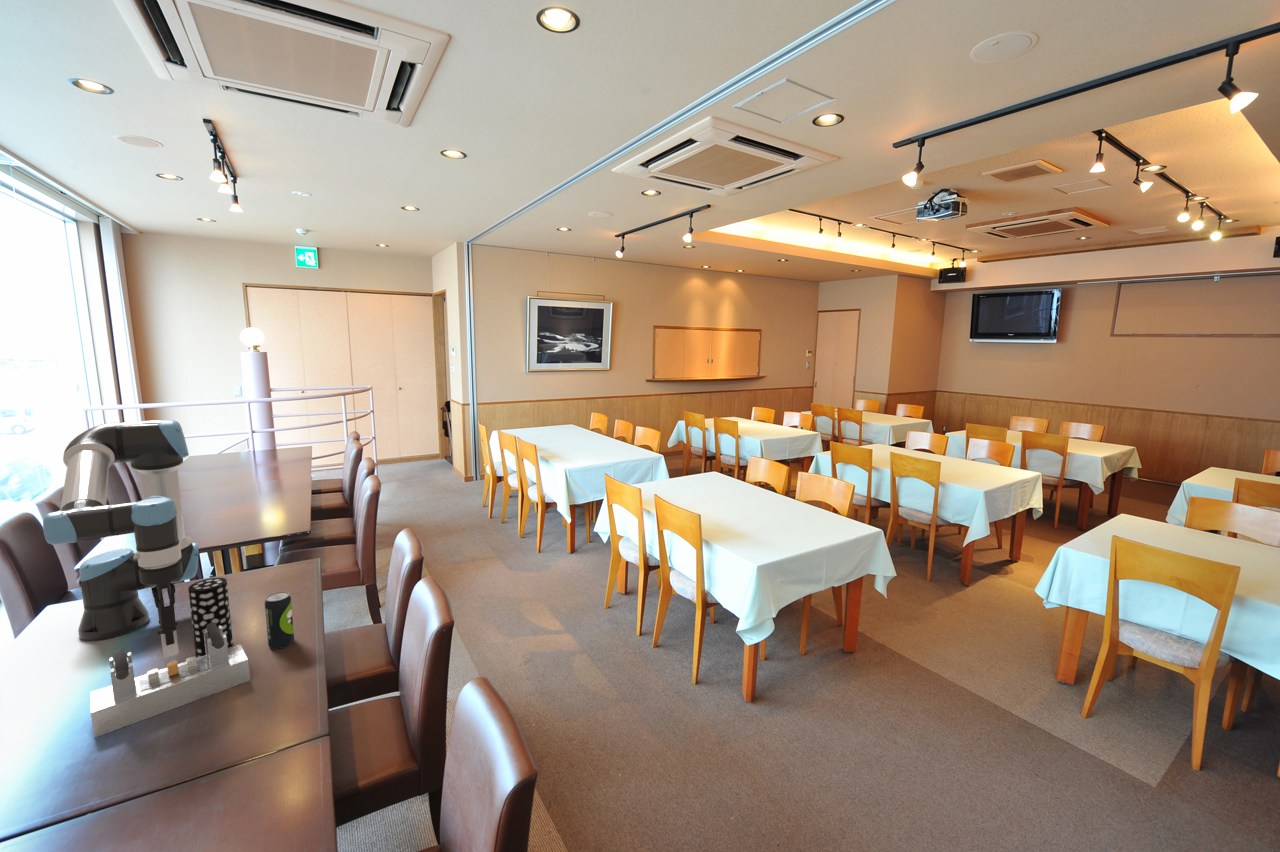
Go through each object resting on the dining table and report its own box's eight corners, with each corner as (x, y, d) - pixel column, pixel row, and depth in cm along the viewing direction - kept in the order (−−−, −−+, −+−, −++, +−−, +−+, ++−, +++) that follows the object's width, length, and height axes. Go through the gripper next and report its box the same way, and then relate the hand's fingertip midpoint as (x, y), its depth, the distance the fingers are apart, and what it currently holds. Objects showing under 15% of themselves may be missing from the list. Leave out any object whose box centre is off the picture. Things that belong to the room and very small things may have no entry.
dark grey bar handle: (114, 658, 122) (113, 650, 122) (126, 654, 124) (125, 647, 124) (116, 682, 114) (115, 674, 113) (129, 678, 115) (128, 670, 115)
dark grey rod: (206, 631, 135) (205, 624, 134) (216, 628, 136) (215, 621, 136) (215, 651, 126) (214, 643, 126) (225, 648, 127) (224, 640, 127)
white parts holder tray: (93, 715, 120) (86, 662, 118) (242, 664, 140) (237, 618, 139) (94, 737, 113) (86, 682, 111) (250, 680, 134) (245, 632, 132)
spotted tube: (211, 660, 142) (204, 592, 139) (187, 656, 144) (180, 588, 141) (240, 643, 150) (234, 579, 147) (217, 640, 152) (210, 576, 149)
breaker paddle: (167, 672, 126) (166, 663, 126) (177, 669, 127) (176, 660, 127) (168, 676, 125) (167, 666, 124) (178, 673, 126) (177, 663, 126)
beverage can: (263, 647, 149) (259, 598, 147) (285, 636, 154) (281, 589, 152) (277, 652, 146) (273, 603, 144) (299, 641, 152) (295, 593, 150)
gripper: (136, 559, 124) (147, 650, 127) (140, 576, 115) (152, 673, 118) (177, 551, 129) (187, 638, 132) (184, 566, 120) (195, 659, 124)
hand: (171, 654), depth 125 cm, fingers closed
